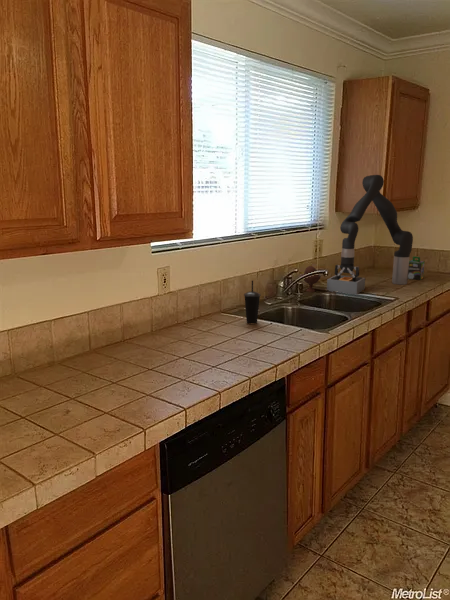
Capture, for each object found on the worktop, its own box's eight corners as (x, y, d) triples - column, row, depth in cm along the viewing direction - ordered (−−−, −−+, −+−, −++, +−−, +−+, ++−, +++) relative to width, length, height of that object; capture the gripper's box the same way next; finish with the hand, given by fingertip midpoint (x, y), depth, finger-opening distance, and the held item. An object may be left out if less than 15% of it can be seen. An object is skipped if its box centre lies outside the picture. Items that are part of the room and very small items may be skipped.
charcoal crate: (335, 285, 318) (336, 274, 317) (364, 289, 309) (365, 277, 308) (326, 290, 305) (327, 279, 303) (356, 294, 296) (357, 282, 294)
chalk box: (423, 278, 343) (425, 256, 340) (420, 280, 336) (422, 257, 332) (409, 276, 348) (411, 254, 345) (406, 278, 341) (407, 256, 337)
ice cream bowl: (321, 292, 299) (322, 267, 296) (302, 292, 300) (303, 267, 296) (318, 288, 310) (319, 264, 306) (300, 288, 310) (301, 264, 306)
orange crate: (343, 286, 312) (344, 276, 311) (353, 287, 309) (353, 277, 308) (338, 289, 304) (338, 279, 303) (348, 290, 301) (348, 280, 300)
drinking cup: (248, 325, 234) (249, 282, 229) (240, 321, 240) (241, 279, 236) (263, 323, 237) (264, 281, 232) (254, 319, 244) (255, 278, 239)
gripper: (361, 256, 302) (359, 283, 306) (338, 254, 309) (336, 280, 313) (357, 257, 295) (356, 285, 299) (333, 255, 303) (332, 282, 306)
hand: (346, 282), depth 306 cm, fingers open, 8 cm apart
